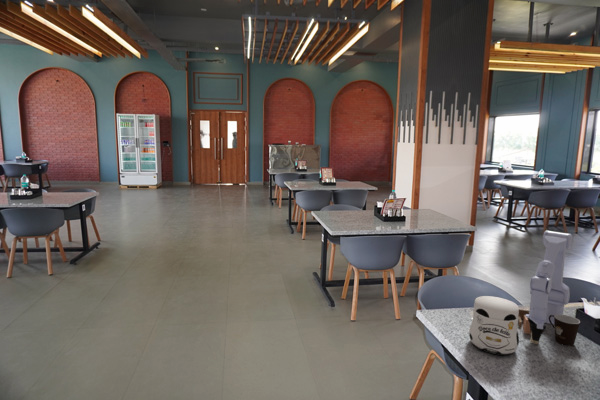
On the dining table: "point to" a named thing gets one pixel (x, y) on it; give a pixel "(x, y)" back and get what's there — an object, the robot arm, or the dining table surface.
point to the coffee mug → (565, 329)
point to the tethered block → (528, 329)
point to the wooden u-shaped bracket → (521, 316)
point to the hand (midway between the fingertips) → (534, 338)
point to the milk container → (495, 325)
